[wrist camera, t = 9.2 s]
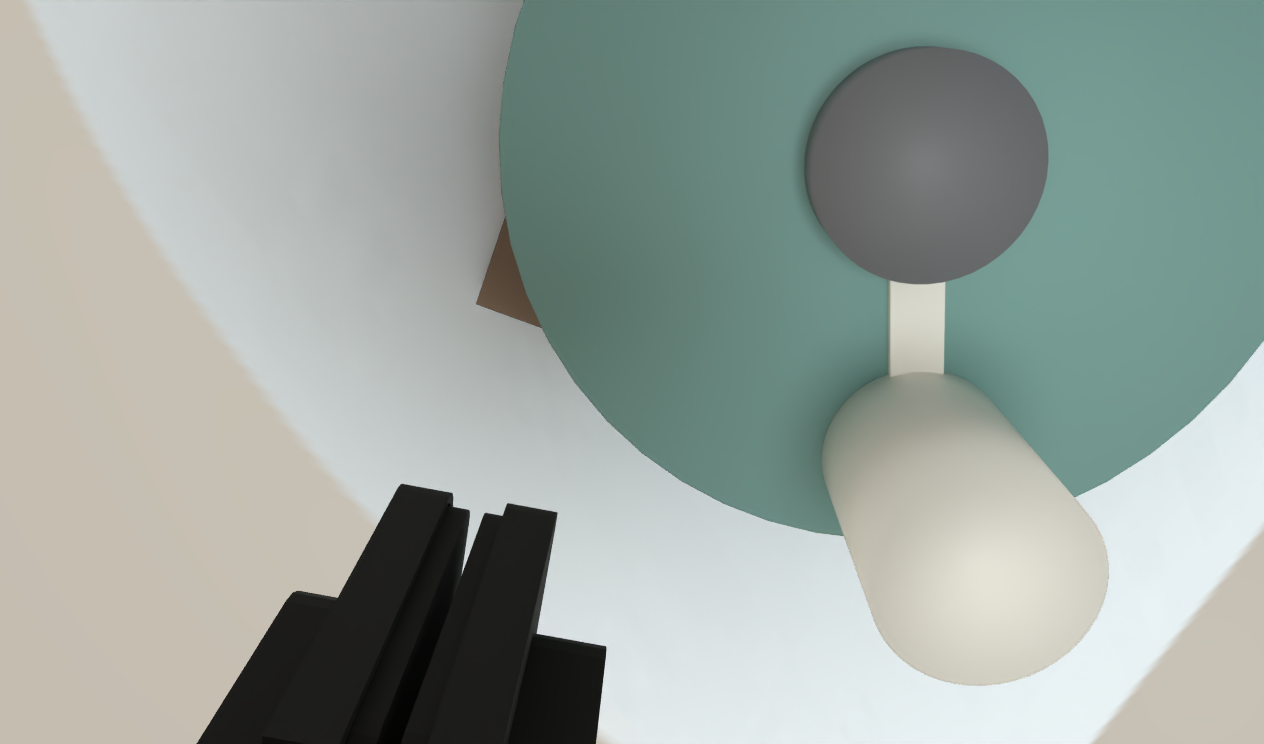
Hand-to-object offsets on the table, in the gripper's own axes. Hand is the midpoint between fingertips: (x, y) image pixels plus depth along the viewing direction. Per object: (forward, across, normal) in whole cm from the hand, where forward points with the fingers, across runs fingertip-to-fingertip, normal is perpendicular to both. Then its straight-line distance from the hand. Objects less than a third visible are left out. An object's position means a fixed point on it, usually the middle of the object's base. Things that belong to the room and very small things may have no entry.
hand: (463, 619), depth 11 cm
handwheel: (+11, -6, -4) cm, 14 cm away
